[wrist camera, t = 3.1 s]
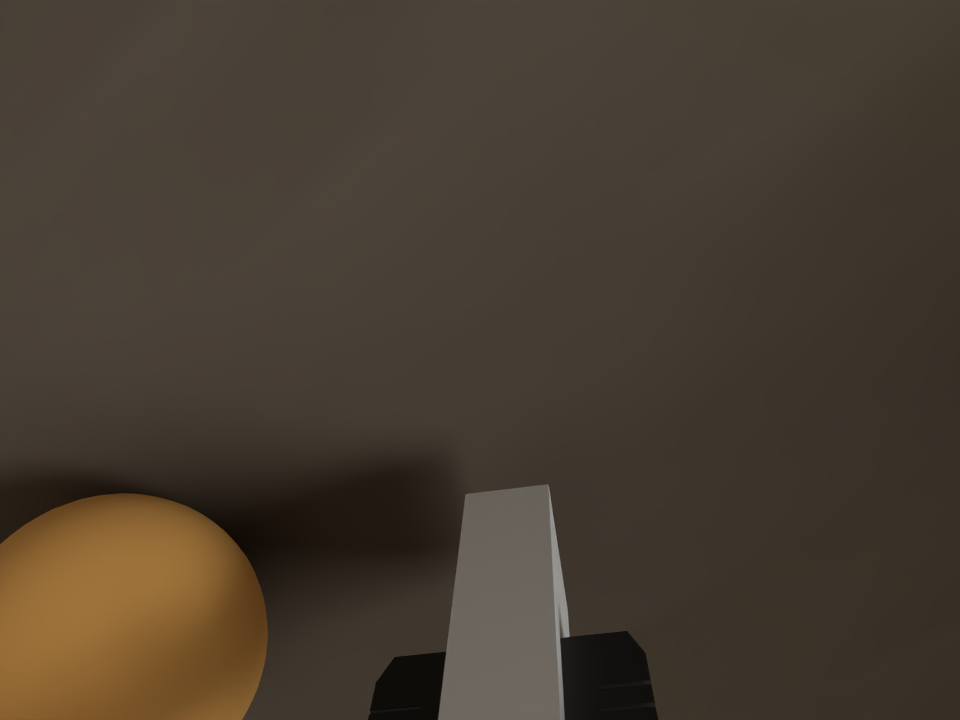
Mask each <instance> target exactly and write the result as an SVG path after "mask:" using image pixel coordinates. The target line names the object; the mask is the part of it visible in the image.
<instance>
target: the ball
mask: <svg viewBox="0 0 960 720" xmlns="http://www.w3.org/2000/svg"><path fill="white" fill-rule="evenodd" d="M267 638H268V626H267V615H266V606H265V602H264V597H263V593H262V590H261V587H260V585H259V582H258V579H257V577H256V574H255V572H254V569H253V568H252V566H251V564H250V562H249V561H248V559H247V557H246V556H245V554H244V553H243V552H242V550H241V549H240V548H239V546H238V545H237V544H236V543H235V541H234V540H233V539H232V538H231V537H230V536H229V535H228V534H227V533H226V532H225V531H224V530H223V529H222V528H220V527H219V526H218V525H217V524H216V523H215V522H213V521H212V520H210V519H209V518H207V517H206V516H204V515H203V514H201V513H199V512H197V511H195V510H194V509H192V508H190V507H188V506H185V505H182V504H180V503H177V502H175V501H171V500H167V499H164V498H160V497H156V496H149V495H143V494H128V493H120V494H108V495H99V496H93V497H88V498H84V499H80V500H77V501H74V502H71V503H68V504H65V505H63V506H60V507H57V508H54V509H52V510H50V511H48V512H46V513H44V514H42V515H41V516H39V517H37V518H35V519H33V520H32V521H30V522H28V523H26V524H25V525H24V526H22V527H21V528H20V529H18V530H17V531H16V532H14V533H13V534H12V535H11V536H9V537H8V538H7V539H6V540H5V541H3V542H2V543H1V544H0V720H242V719H243V717H244V715H245V714H246V712H247V710H248V708H249V706H250V704H251V702H252V700H253V698H254V695H255V693H256V691H257V688H258V685H259V682H260V679H261V675H262V672H263V668H264V663H265V659H266V650H267Z"/></svg>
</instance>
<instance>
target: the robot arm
mask: <svg viewBox="0 0 960 720" xmlns="http://www.w3.org/2000/svg"><path fill="white" fill-rule="evenodd" d="M370 711H371V714H370V715H369V717H368V720H658V717H657V712H656V708H655V701H654V696H653V691H652V685H651V680H650V675H649V670H648V664H647V659H646V654H645V652H644V651H643V650H642V648H641V647H640V646H639V645H638V644H637V643H636V641H635V640H634V639H633V638H632V637H631V635H630V634H629V633H628V632H627V631H623V632H614V633H604V634H594V635H584V636H574V637H570V636H569V622H568V610H567V603H566V596H565V590H564V583H563V577H562V570H561V564H560V557H559V551H558V544H557V537H556V531H555V524H554V518H553V511H552V505H551V498H550V492H549V485H548V484H547V485H538V486H530V487H522V488H513V489H505V490H497V491H488V492H480V493H472V494H466V495H465V503H464V512H463V520H462V528H461V536H460V544H459V553H458V561H457V569H456V577H455V585H454V594H453V602H452V610H451V618H450V626H449V634H448V643H447V651H446V652H440V653H430V654H420V655H411V656H401V657H395V658H394V659H393V660H392V662H391V663H390V664H389V666H388V667H387V668H386V670H385V671H384V672H383V674H382V675H381V677H380V678H379V679H378V681H377V682H376V686H375V690H374V695H373V699H372V704H371V708H370Z"/></svg>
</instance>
